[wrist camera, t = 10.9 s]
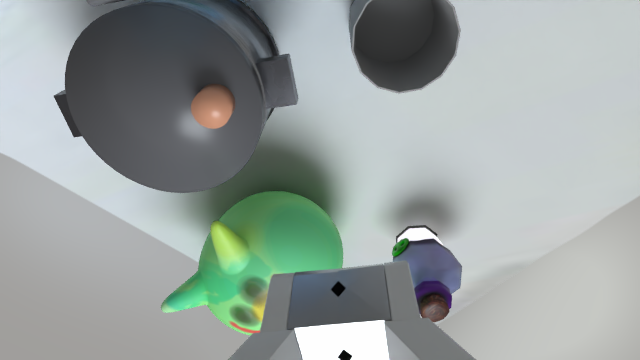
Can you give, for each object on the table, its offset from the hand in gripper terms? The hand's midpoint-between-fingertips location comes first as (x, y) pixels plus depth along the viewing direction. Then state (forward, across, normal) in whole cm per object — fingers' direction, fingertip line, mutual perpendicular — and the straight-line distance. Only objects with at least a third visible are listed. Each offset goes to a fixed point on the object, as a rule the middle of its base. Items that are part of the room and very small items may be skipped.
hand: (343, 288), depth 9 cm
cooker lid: (+27, +15, +2) cm, 31 cm away
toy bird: (+37, +12, +24) cm, 46 cm away
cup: (+37, -5, +1) cm, 38 cm away
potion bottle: (+37, -6, +29) cm, 48 cm away
